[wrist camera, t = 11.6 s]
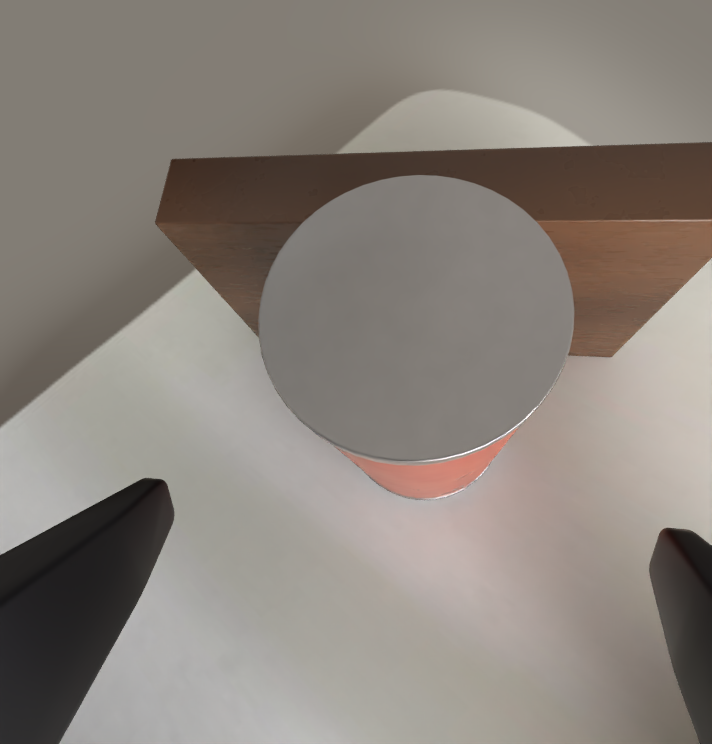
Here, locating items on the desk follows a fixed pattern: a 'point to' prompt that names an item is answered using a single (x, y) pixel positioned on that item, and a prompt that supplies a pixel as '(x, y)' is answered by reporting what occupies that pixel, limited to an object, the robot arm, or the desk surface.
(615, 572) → the desk surface
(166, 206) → the wooden board
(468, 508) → the desk surface
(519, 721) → the desk surface
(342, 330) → the can
